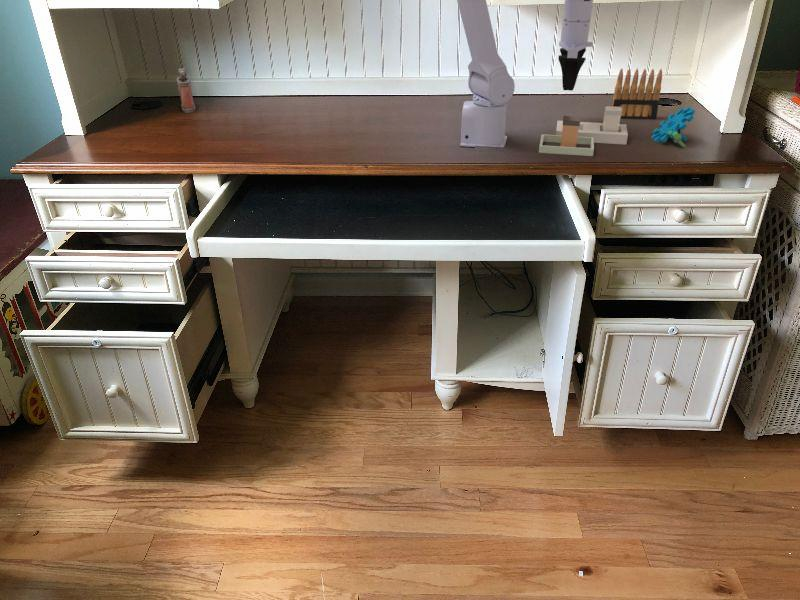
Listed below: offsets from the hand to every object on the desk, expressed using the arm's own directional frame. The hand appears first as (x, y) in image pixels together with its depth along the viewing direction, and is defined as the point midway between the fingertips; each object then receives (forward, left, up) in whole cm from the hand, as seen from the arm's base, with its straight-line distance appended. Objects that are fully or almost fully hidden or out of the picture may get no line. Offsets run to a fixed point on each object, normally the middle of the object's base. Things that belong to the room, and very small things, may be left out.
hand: (568, 85), depth 143 cm
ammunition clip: (+16, +12, -10) cm, 23 cm away
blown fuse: (+1, -14, -10) cm, 17 cm away
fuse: (+10, -5, -10) cm, 15 cm away
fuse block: (+6, -5, -10) cm, 13 cm away
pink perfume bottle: (-97, +1, -10) cm, 98 cm away
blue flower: (+23, -4, -10) cm, 26 cm away
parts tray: (+1, -14, -10) cm, 17 cm away
